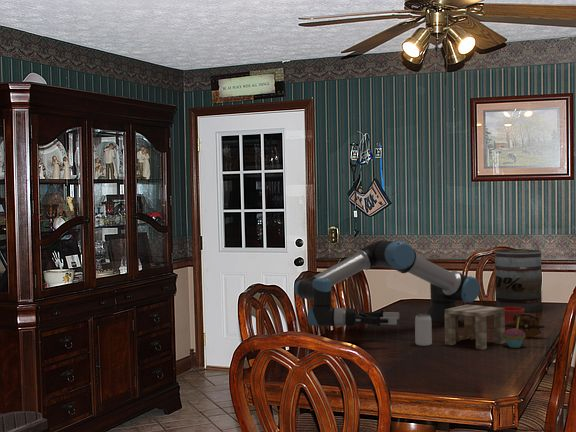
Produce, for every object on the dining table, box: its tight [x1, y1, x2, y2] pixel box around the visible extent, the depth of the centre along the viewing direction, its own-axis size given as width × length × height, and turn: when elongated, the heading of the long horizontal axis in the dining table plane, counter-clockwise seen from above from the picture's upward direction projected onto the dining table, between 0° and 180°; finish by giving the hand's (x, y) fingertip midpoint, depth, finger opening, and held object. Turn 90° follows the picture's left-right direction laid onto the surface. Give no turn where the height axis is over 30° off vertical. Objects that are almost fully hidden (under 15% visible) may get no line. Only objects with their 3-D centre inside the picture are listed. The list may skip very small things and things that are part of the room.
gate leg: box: [455, 314, 476, 343], centre depth 321 cm, size 13×4×12 cm, turn 131°
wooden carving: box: [505, 313, 546, 338], centre depth 325 cm, size 16×5×10 cm, turn 70°
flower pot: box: [500, 307, 524, 331], centre depth 342 cm, size 11×11×10 cm
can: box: [414, 313, 433, 347], centre depth 315 cm, size 6×6×12 cm
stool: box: [444, 304, 506, 350], centre depth 314 cm, size 17×17×14 cm
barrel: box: [494, 248, 543, 314], centre depth 399 cm, size 22×22×30 cm
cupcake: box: [503, 316, 526, 349], centre depth 307 cm, size 9×8×12 cm
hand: (398, 318), depth 317 cm, fingers open, 13 cm apart
